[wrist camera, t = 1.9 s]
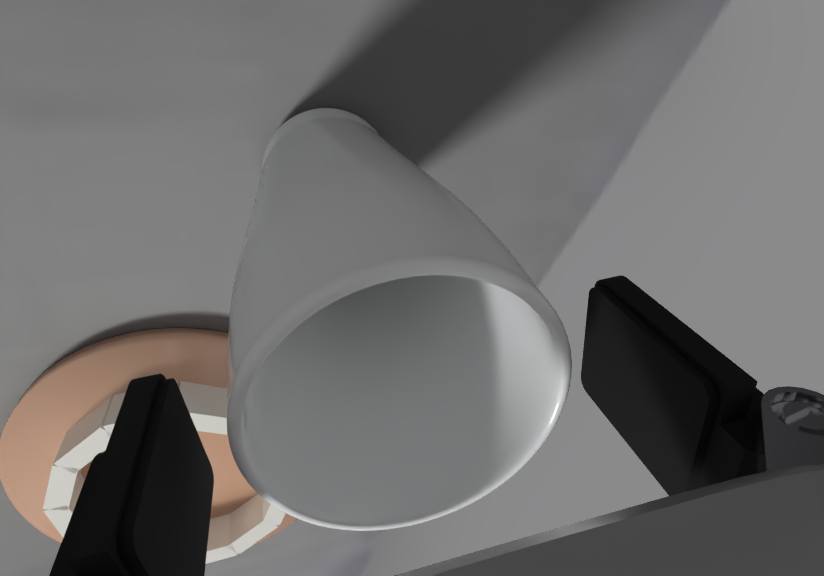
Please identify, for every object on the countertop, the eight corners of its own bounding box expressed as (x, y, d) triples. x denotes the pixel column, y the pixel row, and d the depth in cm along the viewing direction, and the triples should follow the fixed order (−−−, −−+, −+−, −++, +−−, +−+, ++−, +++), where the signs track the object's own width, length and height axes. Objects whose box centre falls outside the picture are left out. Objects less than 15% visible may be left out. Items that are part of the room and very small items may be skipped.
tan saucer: (-67, 372, 22) (-107, 421, 20) (306, 296, 25) (311, 332, 23) (87, 577, 31) (72, 630, 28) (354, 505, 34) (361, 547, 31)
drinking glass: (422, 108, 22) (638, 286, 9) (382, 252, 25) (506, 531, 12) (256, 64, 20) (251, 223, 7) (232, 228, 23) (200, 544, 10)
